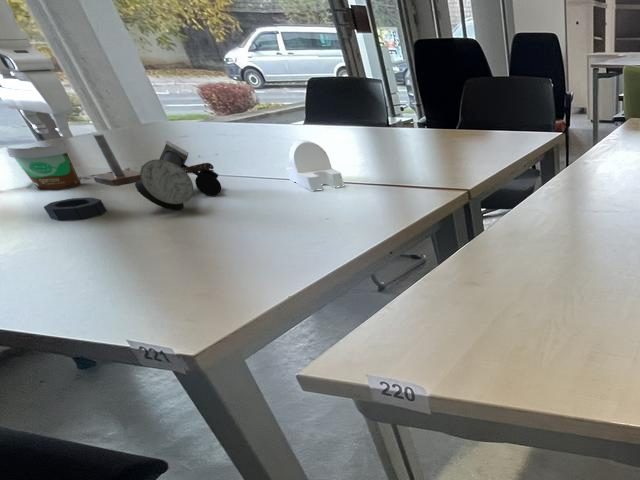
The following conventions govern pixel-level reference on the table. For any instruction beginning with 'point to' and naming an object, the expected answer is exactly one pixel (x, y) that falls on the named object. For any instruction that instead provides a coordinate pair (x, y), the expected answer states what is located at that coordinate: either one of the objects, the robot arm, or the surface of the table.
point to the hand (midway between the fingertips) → (55, 135)
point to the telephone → (175, 179)
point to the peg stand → (113, 166)
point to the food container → (47, 166)
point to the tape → (75, 209)
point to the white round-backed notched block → (311, 166)
